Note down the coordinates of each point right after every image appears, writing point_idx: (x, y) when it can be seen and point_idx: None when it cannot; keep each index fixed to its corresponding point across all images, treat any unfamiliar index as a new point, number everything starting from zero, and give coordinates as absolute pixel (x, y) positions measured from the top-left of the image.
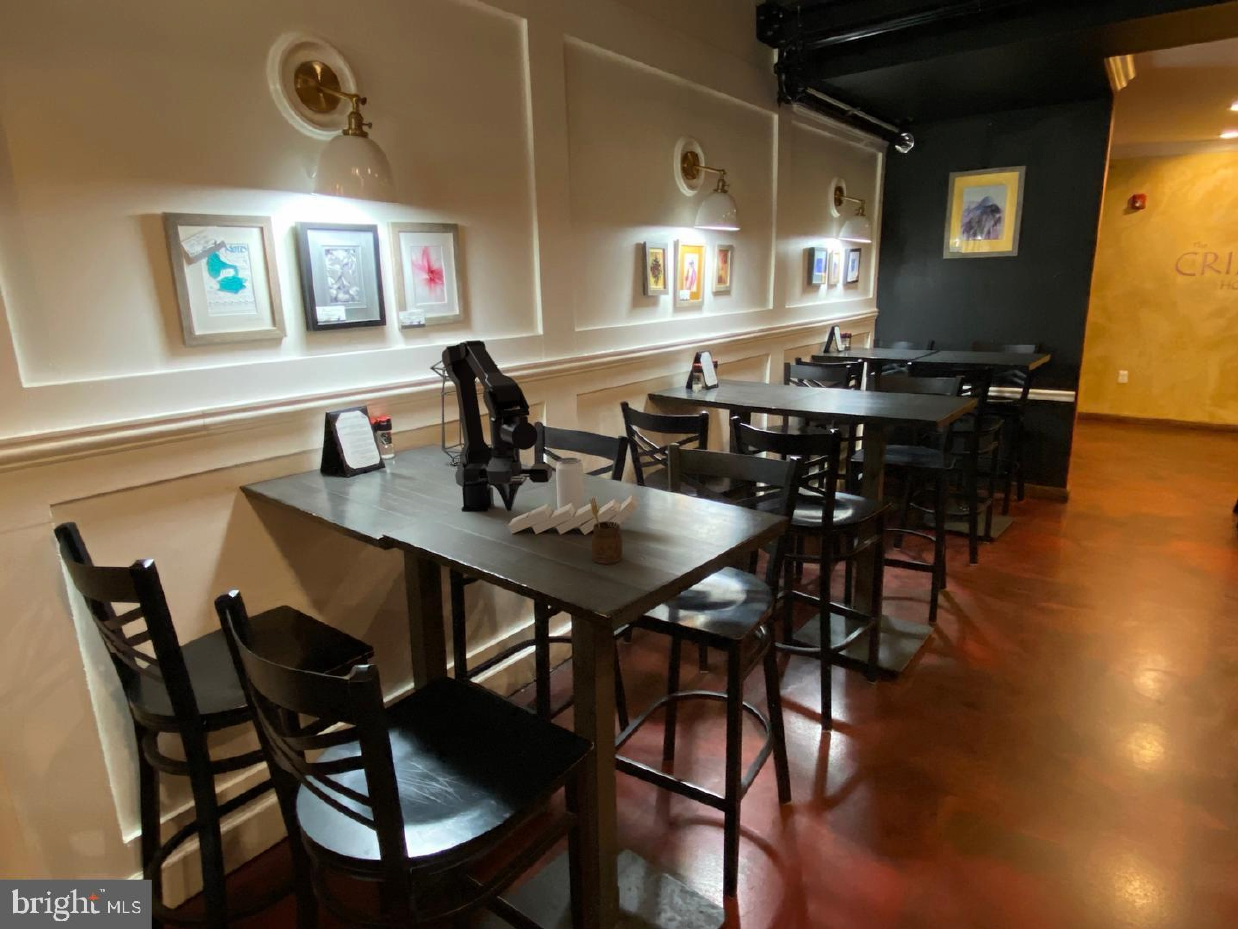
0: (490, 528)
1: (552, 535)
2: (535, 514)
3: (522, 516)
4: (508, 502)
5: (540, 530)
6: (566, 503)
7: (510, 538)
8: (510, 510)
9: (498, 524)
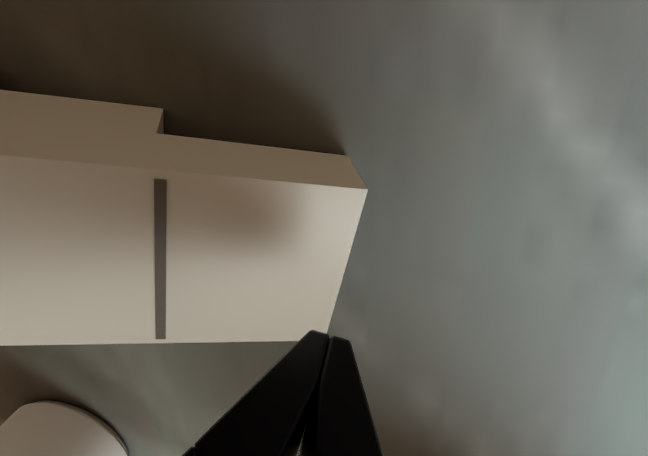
0: (500, 306)
1: (40, 57)
2: (28, 159)
3: (232, 293)
4: (311, 425)
5: (108, 105)
6: (42, 446)
7: (357, 44)
8: (313, 330)
9: (434, 357)
